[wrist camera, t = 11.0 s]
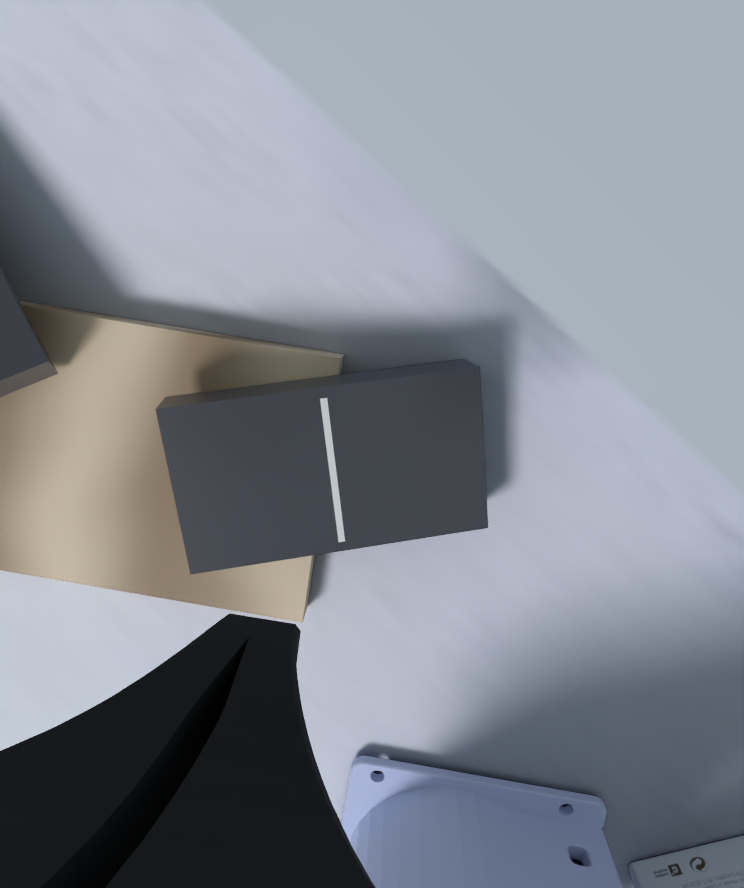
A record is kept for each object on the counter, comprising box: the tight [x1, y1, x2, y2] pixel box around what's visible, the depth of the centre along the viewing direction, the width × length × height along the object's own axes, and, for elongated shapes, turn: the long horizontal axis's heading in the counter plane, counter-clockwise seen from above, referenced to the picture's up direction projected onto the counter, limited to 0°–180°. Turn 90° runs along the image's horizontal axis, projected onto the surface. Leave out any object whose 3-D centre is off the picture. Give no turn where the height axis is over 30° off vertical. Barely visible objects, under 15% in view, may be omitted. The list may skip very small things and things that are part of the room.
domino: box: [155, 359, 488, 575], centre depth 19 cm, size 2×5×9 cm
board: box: [0, 301, 344, 622], centre depth 20 cm, size 21×9×1 cm, turn 81°
